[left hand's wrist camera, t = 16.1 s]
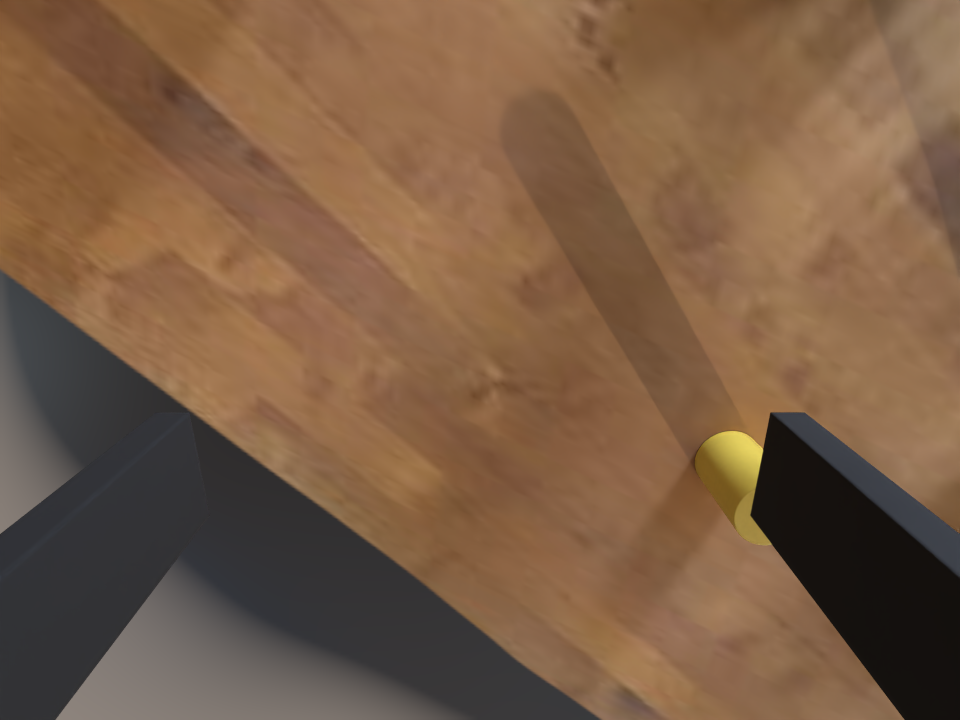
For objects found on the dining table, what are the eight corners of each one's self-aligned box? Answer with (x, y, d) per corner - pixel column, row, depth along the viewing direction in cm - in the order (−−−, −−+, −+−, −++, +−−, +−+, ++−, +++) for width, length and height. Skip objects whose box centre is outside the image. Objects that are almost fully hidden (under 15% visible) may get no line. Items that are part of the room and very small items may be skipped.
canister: (686, 445, 47) (724, 498, 39) (749, 421, 46) (800, 470, 39) (705, 495, 48) (745, 555, 41) (766, 472, 48) (818, 529, 40)
